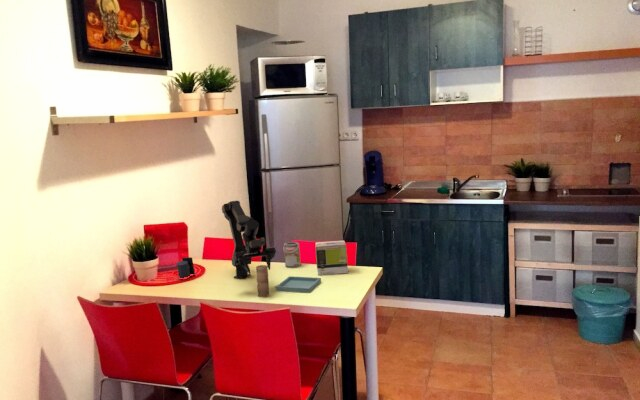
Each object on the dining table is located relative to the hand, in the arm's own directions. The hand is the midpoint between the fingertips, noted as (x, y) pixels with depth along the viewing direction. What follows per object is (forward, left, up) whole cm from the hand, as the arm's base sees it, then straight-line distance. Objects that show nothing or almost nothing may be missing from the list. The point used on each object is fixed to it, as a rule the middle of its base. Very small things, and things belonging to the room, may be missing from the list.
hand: (259, 271), depth 244 cm
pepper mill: (+2, +2, -10) cm, 11 cm away
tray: (-12, +13, -10) cm, 21 cm away
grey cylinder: (-44, -3, -10) cm, 45 cm away
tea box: (-37, +21, -11) cm, 44 cm away
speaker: (-15, -49, -10) cm, 52 cm away
